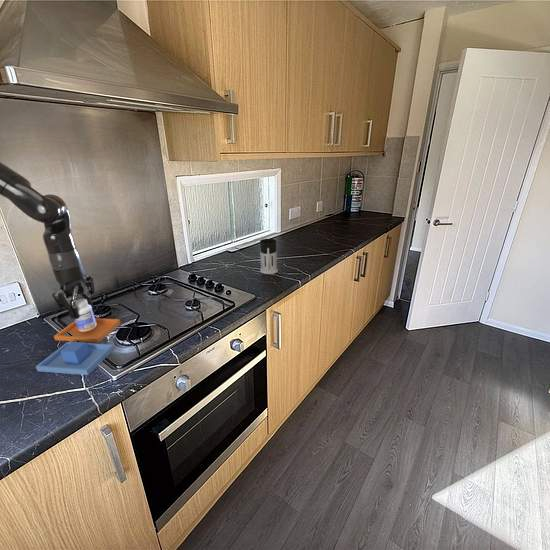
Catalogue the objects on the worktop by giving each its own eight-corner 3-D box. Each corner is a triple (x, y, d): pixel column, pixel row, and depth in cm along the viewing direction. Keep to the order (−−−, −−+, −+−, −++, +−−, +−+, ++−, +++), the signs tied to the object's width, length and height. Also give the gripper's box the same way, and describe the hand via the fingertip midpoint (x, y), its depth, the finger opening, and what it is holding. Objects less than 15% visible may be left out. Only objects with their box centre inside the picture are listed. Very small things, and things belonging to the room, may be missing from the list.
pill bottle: (82, 324, 98) (73, 298, 94) (99, 322, 99) (91, 296, 95) (75, 333, 93) (65, 306, 89) (93, 331, 94) (85, 304, 90)
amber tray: (55, 341, 93) (53, 336, 92) (81, 321, 103) (79, 317, 102) (98, 343, 91) (97, 338, 90) (120, 324, 101) (119, 319, 100)
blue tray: (37, 372, 80) (35, 366, 79) (69, 346, 90) (67, 341, 89) (88, 376, 78) (86, 370, 77) (114, 349, 88) (113, 344, 87)
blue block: (65, 363, 82) (60, 351, 80) (76, 353, 86) (72, 341, 84) (79, 365, 81) (74, 352, 80) (90, 354, 85) (86, 342, 84)
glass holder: (277, 266, 146) (277, 237, 140) (278, 278, 133) (278, 246, 127) (260, 267, 146) (258, 238, 140) (259, 279, 133) (257, 247, 127)
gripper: (73, 255, 94) (88, 302, 101) (34, 273, 81) (54, 324, 88) (94, 256, 93) (108, 303, 100) (58, 273, 80) (76, 326, 87)
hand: (82, 313), depth 94 cm, fingers closed on pill bottle, 5 cm apart
